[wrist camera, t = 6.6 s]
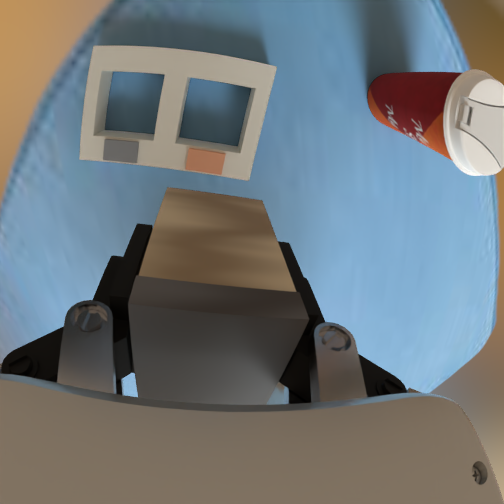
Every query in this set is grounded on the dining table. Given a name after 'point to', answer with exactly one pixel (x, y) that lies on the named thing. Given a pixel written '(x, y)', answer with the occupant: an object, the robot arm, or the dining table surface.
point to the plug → (213, 303)
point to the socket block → (173, 110)
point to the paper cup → (446, 114)
